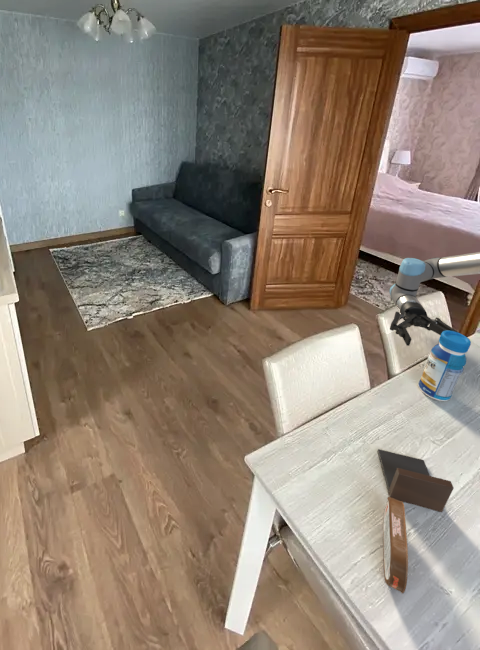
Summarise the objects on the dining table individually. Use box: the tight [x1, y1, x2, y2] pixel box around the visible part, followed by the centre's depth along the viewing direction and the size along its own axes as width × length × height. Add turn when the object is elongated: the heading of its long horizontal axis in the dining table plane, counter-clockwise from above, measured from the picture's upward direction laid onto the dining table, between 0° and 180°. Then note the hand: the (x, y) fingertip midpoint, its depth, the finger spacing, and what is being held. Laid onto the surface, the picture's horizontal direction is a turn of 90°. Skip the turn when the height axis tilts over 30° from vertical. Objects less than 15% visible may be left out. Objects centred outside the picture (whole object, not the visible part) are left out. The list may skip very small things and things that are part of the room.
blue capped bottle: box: [417, 330, 472, 402], centre depth 101 cm, size 8×8×20 cm
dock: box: [376, 448, 454, 513], centre depth 78 cm, size 12×10×8 cm
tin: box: [382, 496, 409, 594], centre depth 65 cm, size 15×3×8 cm, turn 152°
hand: (433, 346), depth 107 cm, fingers open, 13 cm apart
